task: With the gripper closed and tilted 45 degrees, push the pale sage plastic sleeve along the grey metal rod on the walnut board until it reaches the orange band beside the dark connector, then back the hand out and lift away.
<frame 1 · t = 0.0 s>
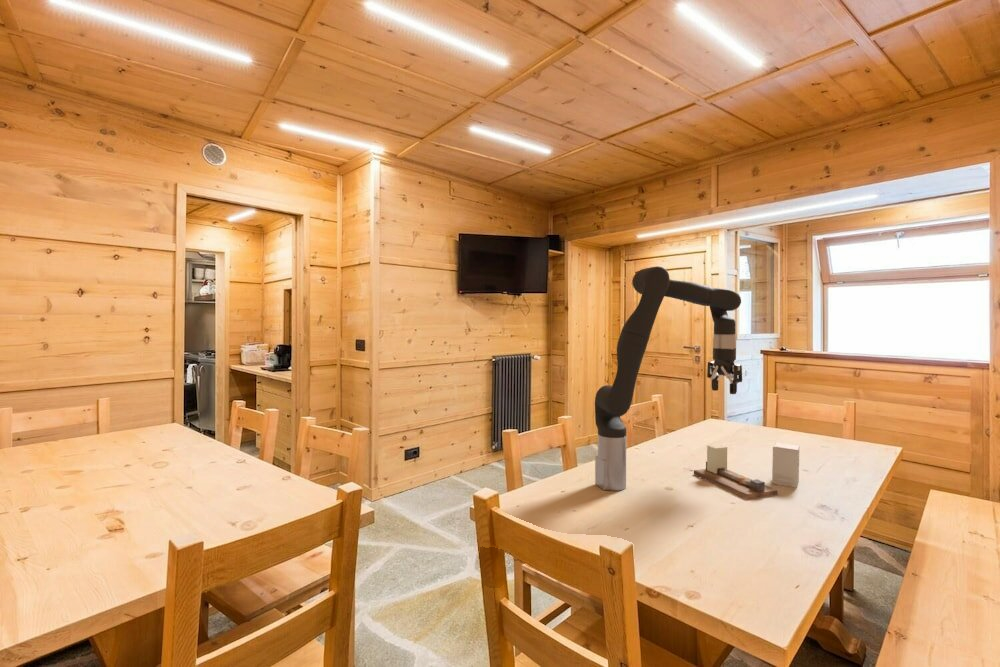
hand: (723, 392, 166), 29 cm above the table, tool pointing down, fingers open, 8 cm apart
supplement box: (785, 483, 157), on the table
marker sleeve: (717, 458, 163), point 6 cm above the table, slide at 0.0 cm
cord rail: (733, 484, 156), on the table
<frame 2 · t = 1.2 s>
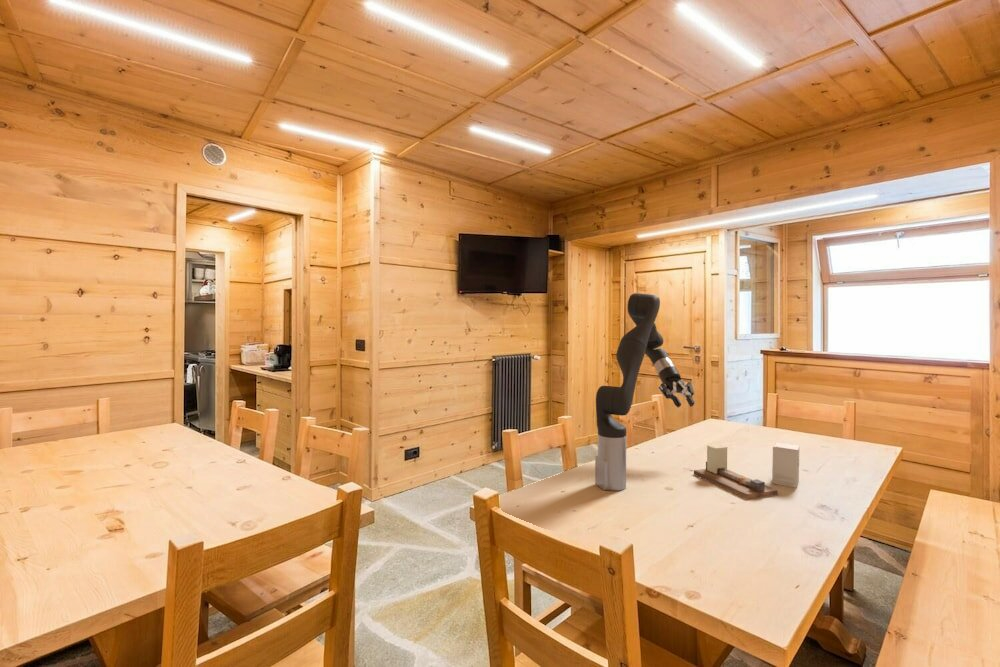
hand: (686, 405, 178), 22 cm above the table, tool tilted 45°, fingers open, 5 cm apart
nothing on the table moved.
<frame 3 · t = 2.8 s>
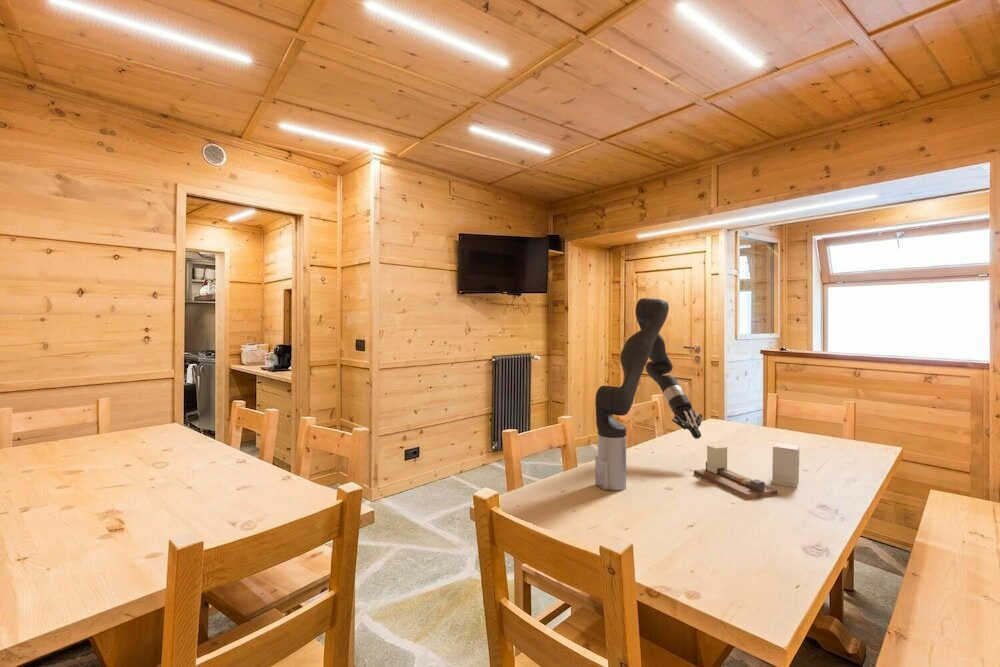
hand: (698, 437, 172), 12 cm above the table, tool tilted 45°, fingers closed
nothing on the table moved.
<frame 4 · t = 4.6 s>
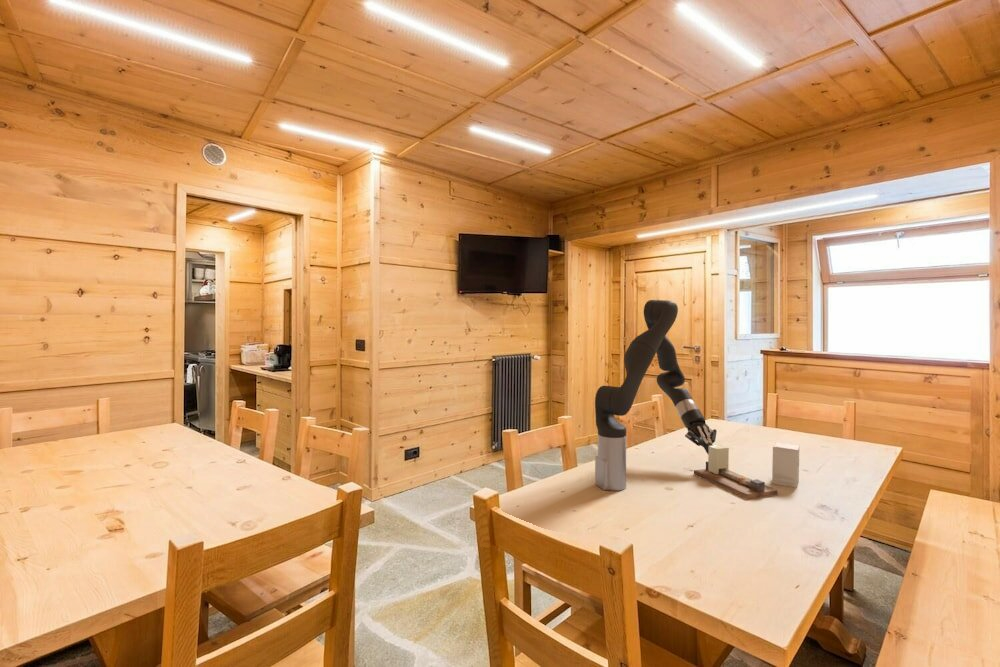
hand: (712, 454, 165), 7 cm above the table, tool tilted 45°, fingers closed
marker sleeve: (718, 459, 162), point 6 cm above the table, slide at 0.6 cm, touching gripper
everything else where it was.
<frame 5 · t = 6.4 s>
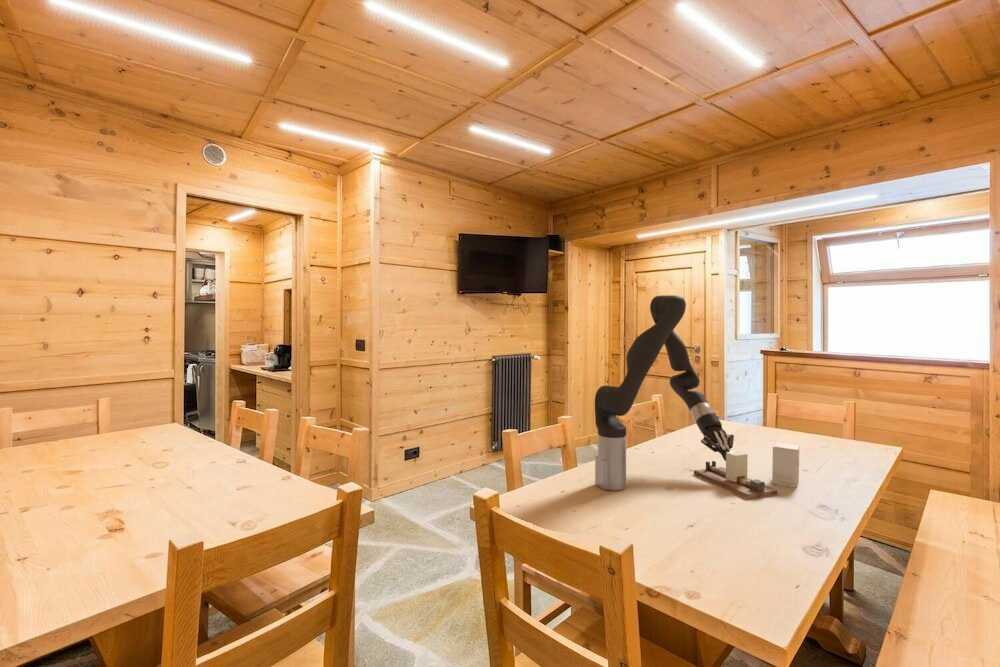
hand: (730, 461, 157), 7 cm above the table, tool tilted 45°, fingers closed
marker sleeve: (736, 466, 154), point 6 cm above the table, slide at 8.9 cm, touching gripper
everything else where it was.
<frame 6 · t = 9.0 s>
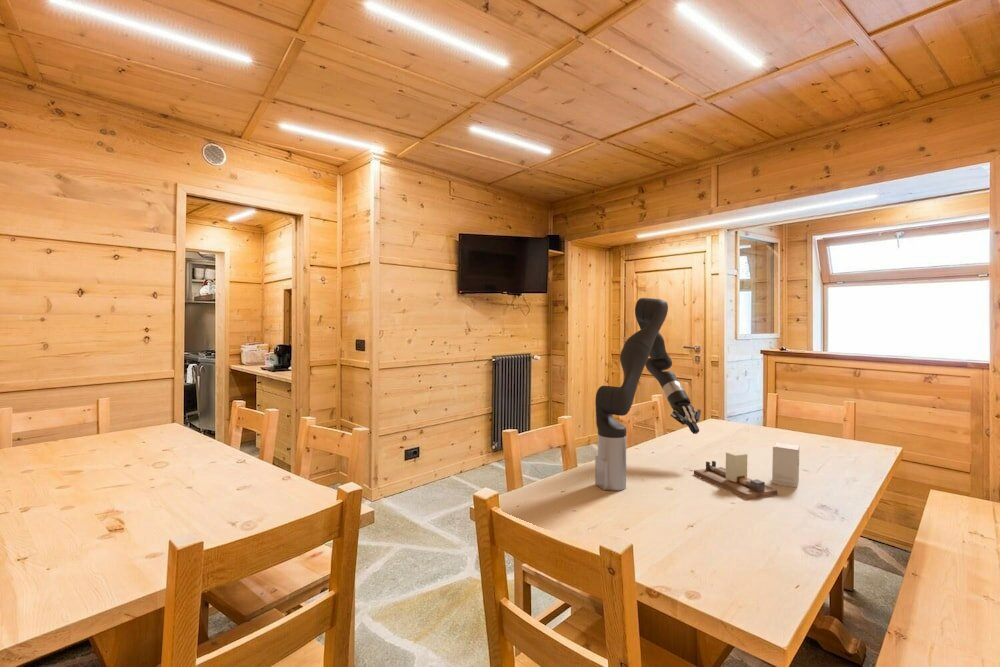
hand: (696, 432, 173), 13 cm above the table, tool tilted 45°, fingers closed
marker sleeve: (736, 466, 154), point 6 cm above the table, slide at 8.8 cm
everything else where it was.
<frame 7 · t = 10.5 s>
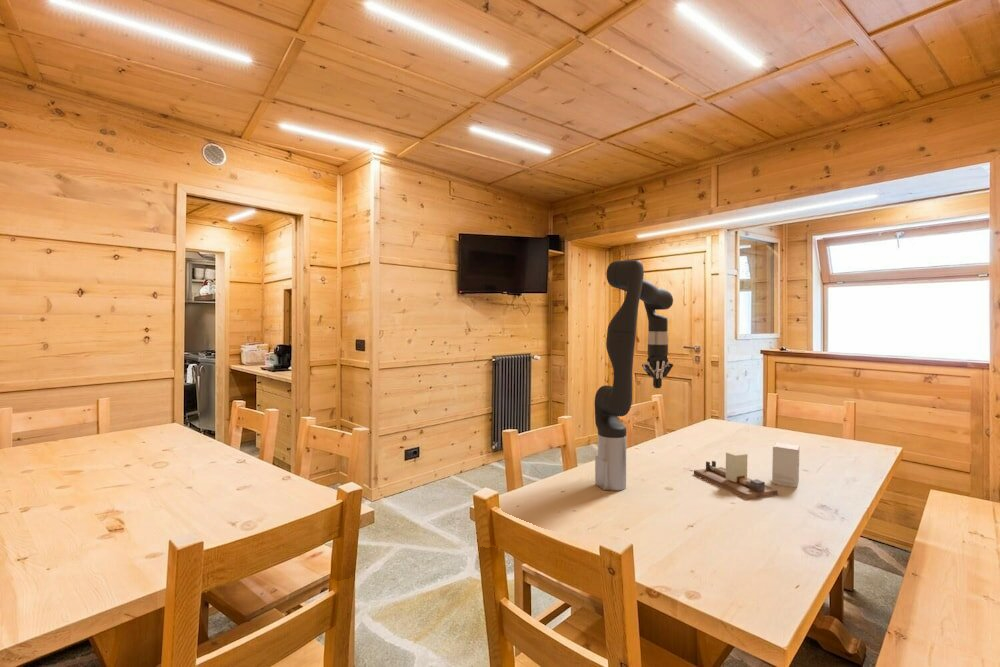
hand: (657, 388, 179), 29 cm above the table, tool pointing down, fingers closed
nothing on the table moved.
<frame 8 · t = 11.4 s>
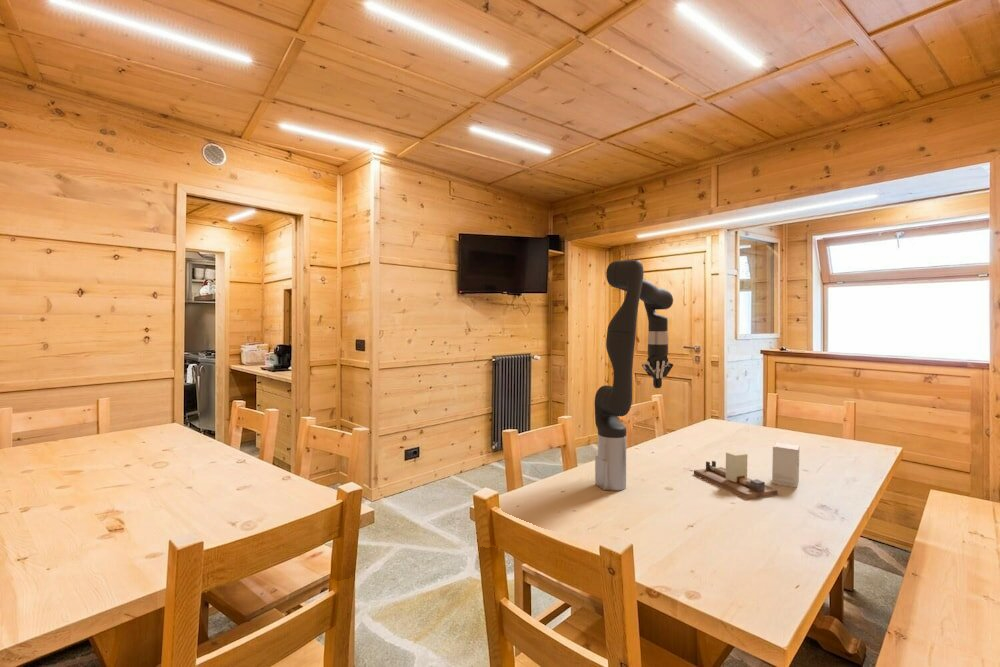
hand: (657, 387, 179), 29 cm above the table, tool pointing down, fingers closed
nothing on the table moved.
at the end: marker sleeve slide at 8.8 cm; supplement box moved 0.2 cm from its start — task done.
